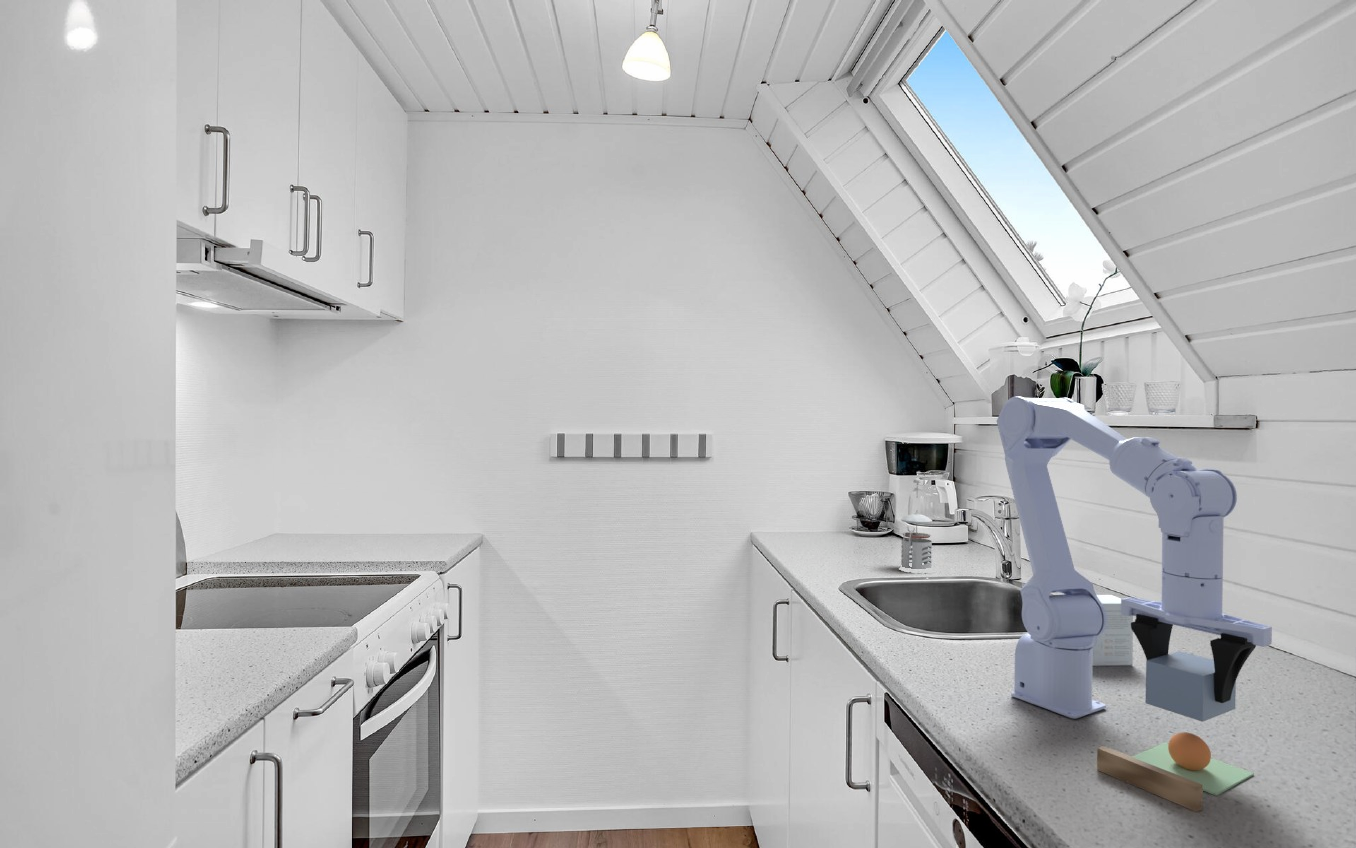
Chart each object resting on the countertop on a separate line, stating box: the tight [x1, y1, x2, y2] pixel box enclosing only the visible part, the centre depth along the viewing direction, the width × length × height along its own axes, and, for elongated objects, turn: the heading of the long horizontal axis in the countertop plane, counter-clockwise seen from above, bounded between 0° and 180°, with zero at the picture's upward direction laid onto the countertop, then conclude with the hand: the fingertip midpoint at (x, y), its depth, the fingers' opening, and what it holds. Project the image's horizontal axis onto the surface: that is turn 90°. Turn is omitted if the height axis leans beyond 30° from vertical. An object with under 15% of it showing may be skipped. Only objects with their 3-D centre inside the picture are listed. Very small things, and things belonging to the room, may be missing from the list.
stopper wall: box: [1096, 745, 1203, 813], centre depth 77 cm, size 10×1×2 cm, turn 30°
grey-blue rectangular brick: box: [1144, 650, 1237, 723], centre depth 81 cm, size 6×8×5 cm
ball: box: [1168, 731, 1212, 770], centre depth 81 cm, size 4×4×4 cm
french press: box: [900, 477, 933, 569], centre depth 190 cm, size 10×12×25 cm
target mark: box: [1132, 741, 1255, 796], centre depth 81 cm, size 9×9×1 cm
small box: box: [1093, 594, 1134, 667], centre depth 119 cm, size 8×6×10 cm
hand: (1190, 691), depth 81 cm, fingers closed on grey-blue rectangular brick, 6 cm apart
